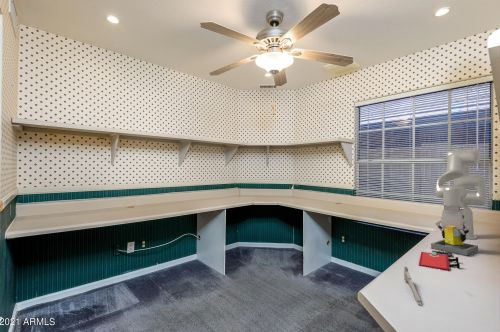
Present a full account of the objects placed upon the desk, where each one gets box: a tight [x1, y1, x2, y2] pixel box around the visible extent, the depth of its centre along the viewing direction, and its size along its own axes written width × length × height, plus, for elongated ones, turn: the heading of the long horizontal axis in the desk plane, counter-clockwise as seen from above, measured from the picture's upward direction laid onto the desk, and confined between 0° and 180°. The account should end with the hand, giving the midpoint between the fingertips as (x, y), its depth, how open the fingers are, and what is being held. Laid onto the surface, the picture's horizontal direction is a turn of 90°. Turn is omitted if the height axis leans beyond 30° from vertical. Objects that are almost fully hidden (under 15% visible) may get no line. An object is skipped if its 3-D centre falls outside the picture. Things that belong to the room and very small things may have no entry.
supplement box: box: [444, 226, 464, 246], centre depth 136 cm, size 6×6×11 cm
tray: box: [430, 238, 479, 257], centre depth 136 cm, size 16×16×3 cm
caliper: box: [403, 266, 422, 306], centre depth 88 cm, size 20×1×6 cm, turn 158°
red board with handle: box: [418, 249, 461, 272], centre depth 120 cm, size 30×3×15 cm
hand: (453, 239), depth 136 cm, fingers closed on supplement box, 7 cm apart
